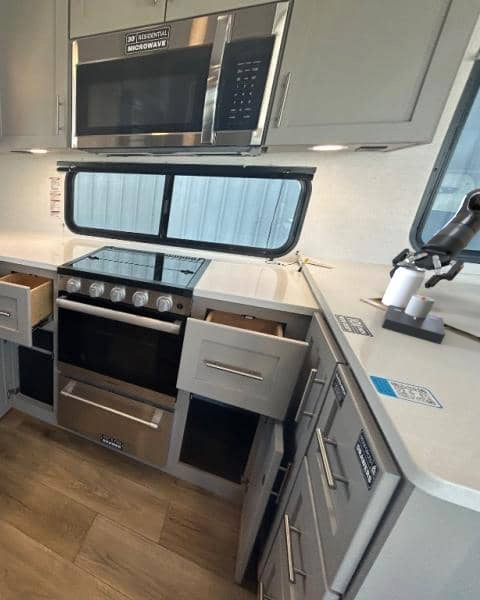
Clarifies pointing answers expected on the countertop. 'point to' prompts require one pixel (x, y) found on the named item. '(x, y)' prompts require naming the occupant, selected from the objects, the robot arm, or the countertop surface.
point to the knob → (419, 306)
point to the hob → (414, 324)
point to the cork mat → (375, 303)
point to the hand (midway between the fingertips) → (408, 281)
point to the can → (403, 286)
